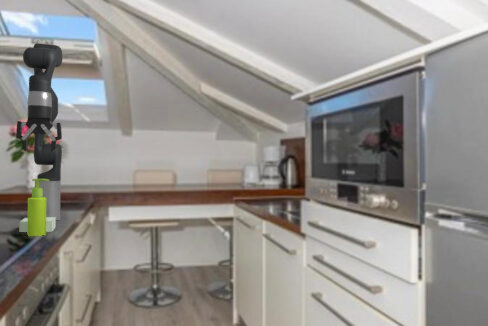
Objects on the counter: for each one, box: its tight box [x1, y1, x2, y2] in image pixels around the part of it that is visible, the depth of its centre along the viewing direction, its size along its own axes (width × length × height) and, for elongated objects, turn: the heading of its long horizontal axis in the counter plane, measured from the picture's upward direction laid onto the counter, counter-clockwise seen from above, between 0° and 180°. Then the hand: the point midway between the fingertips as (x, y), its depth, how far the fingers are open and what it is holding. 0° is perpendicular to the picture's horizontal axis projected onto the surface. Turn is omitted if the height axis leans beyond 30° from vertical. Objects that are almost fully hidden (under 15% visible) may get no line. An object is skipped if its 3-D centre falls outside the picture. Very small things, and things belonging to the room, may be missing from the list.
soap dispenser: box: [26, 178, 50, 237], centre depth 144 cm, size 6×7×20 cm
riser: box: [18, 217, 57, 233], centre depth 154 cm, size 10×11×4 cm
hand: (39, 151), depth 144 cm, fingers open, 8 cm apart
